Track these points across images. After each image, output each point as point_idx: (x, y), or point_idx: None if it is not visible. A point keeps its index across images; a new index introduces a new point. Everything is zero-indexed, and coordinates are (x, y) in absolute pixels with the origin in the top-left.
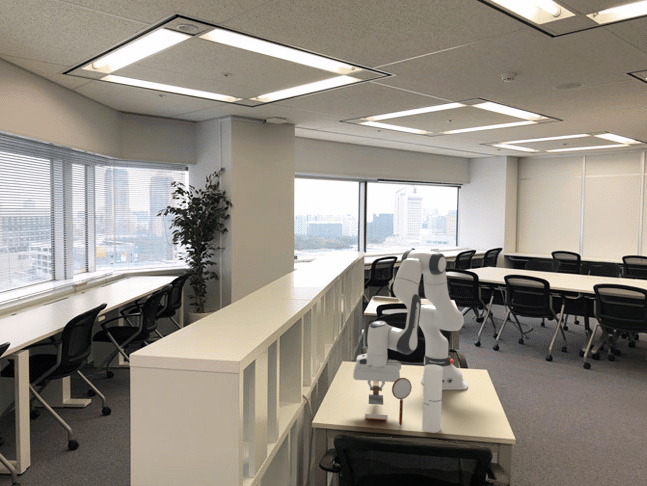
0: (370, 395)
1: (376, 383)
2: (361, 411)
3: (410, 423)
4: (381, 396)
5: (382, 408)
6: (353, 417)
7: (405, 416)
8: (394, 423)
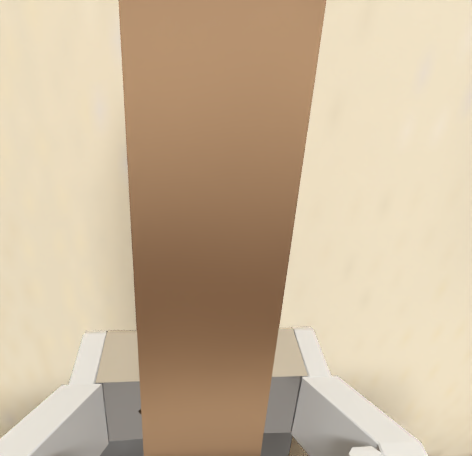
0: (119, 453)
1: (216, 362)
2: (55, 274)
3: (434, 397)
4: (269, 452)
5: None
6: (7, 384)
7: (441, 309)
8: None
